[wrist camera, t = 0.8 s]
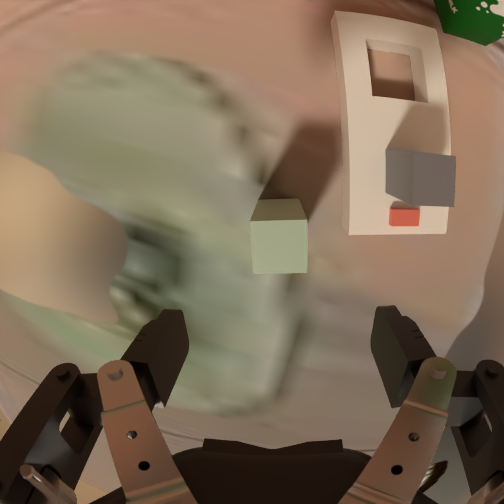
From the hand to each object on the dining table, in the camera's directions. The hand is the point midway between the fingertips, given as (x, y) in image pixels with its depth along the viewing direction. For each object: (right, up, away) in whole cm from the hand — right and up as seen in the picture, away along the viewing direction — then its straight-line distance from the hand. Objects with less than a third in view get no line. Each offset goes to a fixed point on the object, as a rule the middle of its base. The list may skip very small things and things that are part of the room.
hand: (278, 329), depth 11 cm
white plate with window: (+13, +16, +13) cm, 25 cm away
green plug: (+2, +6, +18) cm, 19 cm away
